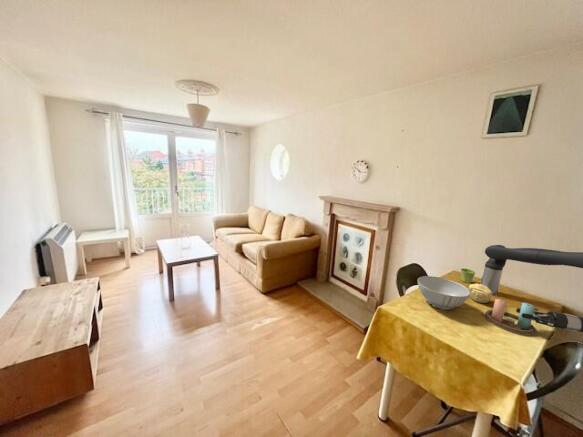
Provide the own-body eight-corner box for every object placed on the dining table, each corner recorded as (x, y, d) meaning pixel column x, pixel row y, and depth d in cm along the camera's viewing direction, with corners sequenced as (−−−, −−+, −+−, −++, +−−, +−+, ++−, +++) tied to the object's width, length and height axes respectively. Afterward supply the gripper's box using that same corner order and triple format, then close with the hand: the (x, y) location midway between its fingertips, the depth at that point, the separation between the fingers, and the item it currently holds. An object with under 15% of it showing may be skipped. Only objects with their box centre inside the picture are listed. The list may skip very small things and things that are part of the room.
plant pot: (470, 280, 180) (473, 269, 178) (476, 285, 171) (478, 274, 170) (456, 278, 183) (458, 267, 181) (461, 282, 174) (463, 271, 173)
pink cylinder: (489, 320, 127) (494, 300, 125) (492, 318, 129) (496, 298, 127) (500, 325, 123) (505, 304, 121) (503, 322, 126) (507, 301, 124)
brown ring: (480, 319, 128) (480, 315, 127) (491, 309, 138) (492, 306, 138) (528, 339, 112) (529, 336, 112) (537, 327, 123) (538, 323, 123)
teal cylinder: (516, 325, 122) (521, 304, 120) (518, 322, 124) (523, 301, 122) (528, 330, 118) (533, 308, 116) (530, 327, 121) (535, 305, 119)
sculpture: (464, 298, 150) (467, 283, 148) (470, 294, 157) (473, 279, 155) (487, 307, 141) (490, 290, 139) (492, 301, 148) (496, 285, 146)
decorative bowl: (459, 323, 123) (463, 301, 121) (407, 301, 143) (410, 282, 141) (472, 306, 141) (475, 287, 139) (424, 289, 160) (426, 272, 158)
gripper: (554, 306, 121) (513, 299, 127) (576, 322, 108) (529, 313, 114) (551, 319, 123) (510, 312, 128) (572, 336, 109) (525, 327, 115)
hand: (519, 312), depth 121 cm, fingers closed on teal cylinder, 4 cm apart
